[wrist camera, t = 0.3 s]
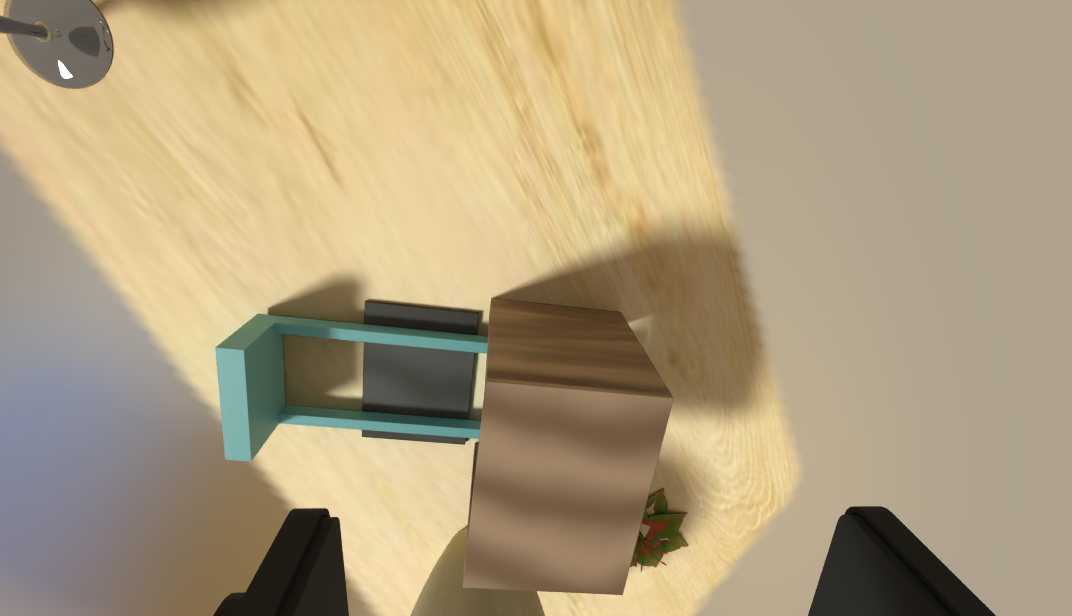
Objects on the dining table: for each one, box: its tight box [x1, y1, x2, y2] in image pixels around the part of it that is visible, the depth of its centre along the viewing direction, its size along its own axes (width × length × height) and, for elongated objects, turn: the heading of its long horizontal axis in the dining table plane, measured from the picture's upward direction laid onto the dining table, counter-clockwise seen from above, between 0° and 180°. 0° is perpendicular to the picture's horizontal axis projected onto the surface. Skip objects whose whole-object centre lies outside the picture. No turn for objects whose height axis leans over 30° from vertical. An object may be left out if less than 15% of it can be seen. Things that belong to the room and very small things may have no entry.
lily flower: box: [630, 488, 688, 573], centre depth 55 cm, size 12×12×5 cm
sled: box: [216, 314, 488, 461], centre depth 44 cm, size 10×31×7 cm, turn 82°
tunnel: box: [362, 298, 674, 595], centre depth 41 cm, size 17×23×16 cm
